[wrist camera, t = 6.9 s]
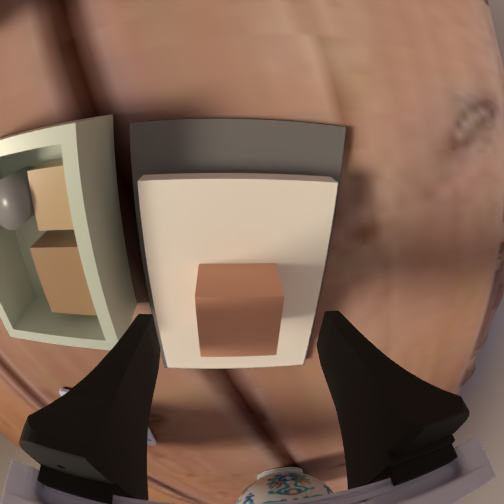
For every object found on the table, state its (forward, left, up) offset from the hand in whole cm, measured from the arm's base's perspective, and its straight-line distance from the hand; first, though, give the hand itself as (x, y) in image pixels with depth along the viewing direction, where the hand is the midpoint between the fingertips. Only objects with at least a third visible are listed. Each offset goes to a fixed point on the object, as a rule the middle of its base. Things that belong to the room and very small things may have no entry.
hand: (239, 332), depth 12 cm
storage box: (+3, +10, -5) cm, 12 cm away
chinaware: (-36, -7, -5) cm, 37 cm away
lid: (0, 0, -4) cm, 4 cm away
